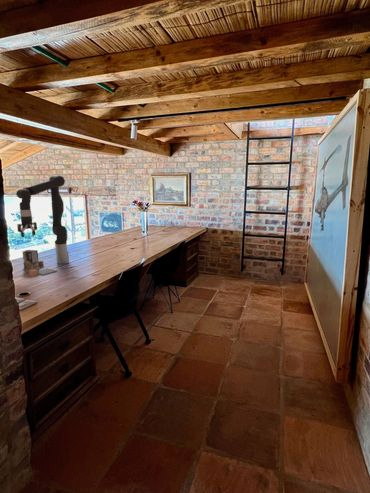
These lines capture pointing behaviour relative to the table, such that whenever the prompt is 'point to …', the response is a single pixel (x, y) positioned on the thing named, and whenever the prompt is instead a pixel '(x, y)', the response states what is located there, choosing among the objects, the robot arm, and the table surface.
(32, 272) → the terracotta block
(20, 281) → the table surface
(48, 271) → the slate mat
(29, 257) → the coffee box
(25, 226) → the robot arm
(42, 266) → the walnut block
